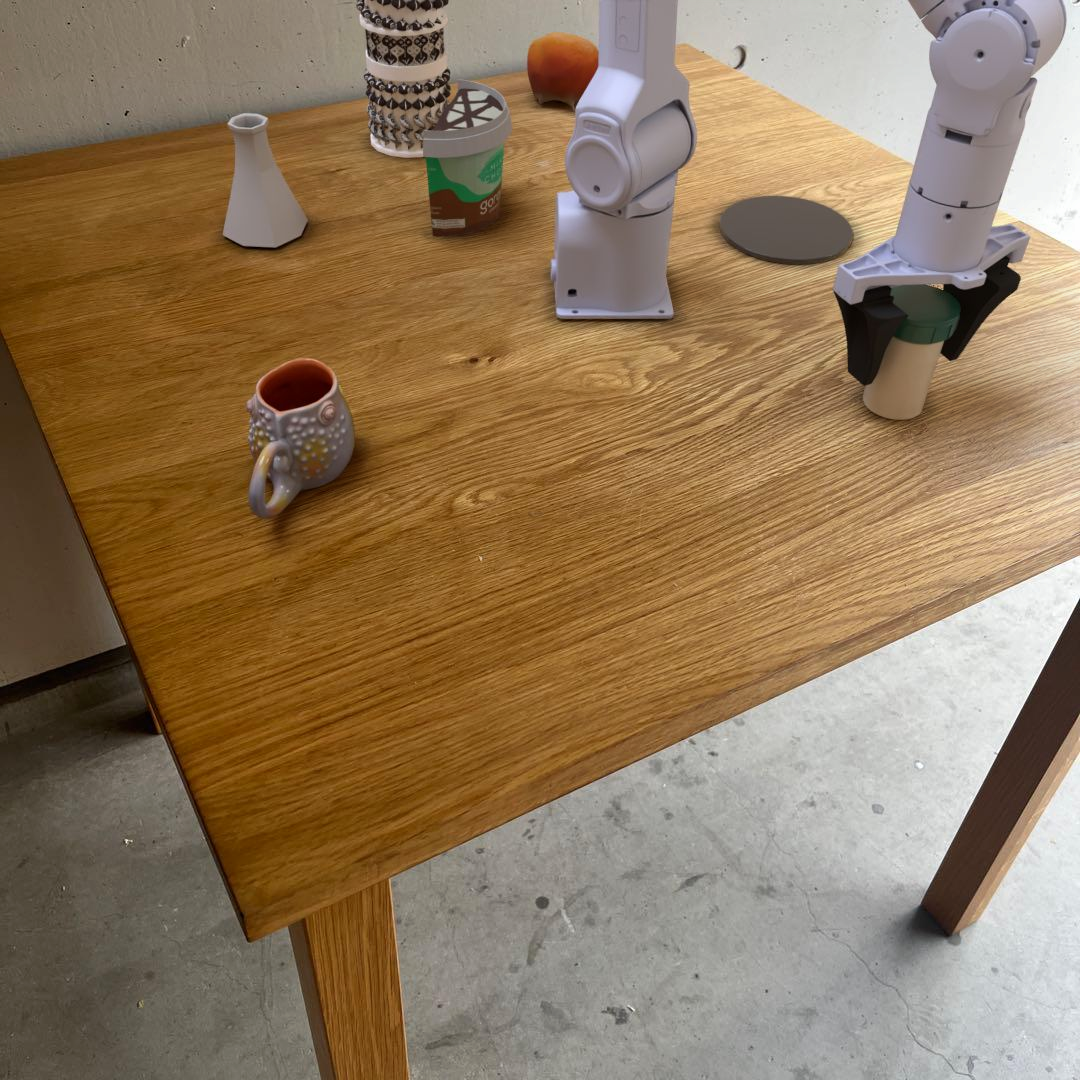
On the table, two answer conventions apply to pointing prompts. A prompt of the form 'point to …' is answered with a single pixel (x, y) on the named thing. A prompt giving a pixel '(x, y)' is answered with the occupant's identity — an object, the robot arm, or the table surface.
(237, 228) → the flask
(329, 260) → the table surface
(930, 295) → the lid
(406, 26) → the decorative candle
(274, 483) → the mug
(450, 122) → the food container
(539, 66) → the fruit
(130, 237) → the table surface
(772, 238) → the coaster
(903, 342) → the jar
